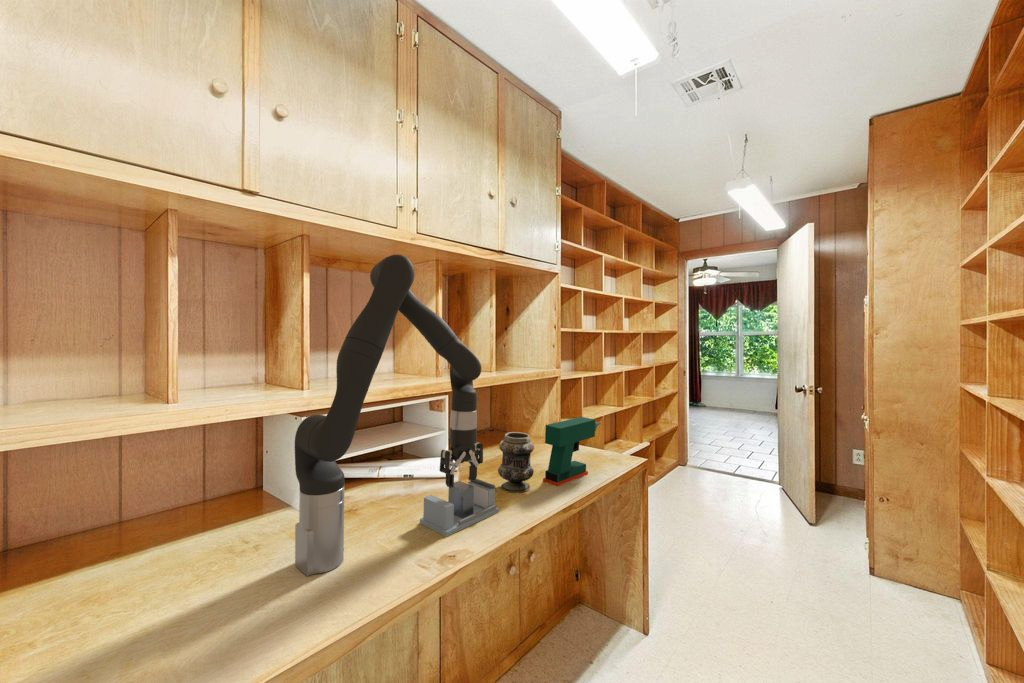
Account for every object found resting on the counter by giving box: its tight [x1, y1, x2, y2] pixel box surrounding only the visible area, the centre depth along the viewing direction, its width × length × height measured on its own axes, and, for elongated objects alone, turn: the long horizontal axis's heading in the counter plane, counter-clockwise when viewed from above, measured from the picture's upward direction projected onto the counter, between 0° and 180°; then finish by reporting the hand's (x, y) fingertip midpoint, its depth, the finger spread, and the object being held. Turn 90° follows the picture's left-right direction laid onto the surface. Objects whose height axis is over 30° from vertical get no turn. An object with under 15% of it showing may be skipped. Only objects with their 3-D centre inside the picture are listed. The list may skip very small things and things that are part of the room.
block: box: [447, 480, 474, 519], centre depth 120 cm, size 4×6×8 cm, turn 51°
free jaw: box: [467, 477, 496, 509], centre depth 127 cm, size 3×10×7 cm, turn 50°
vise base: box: [419, 494, 500, 537], centre depth 120 cm, size 20×11×7 cm, turn 140°
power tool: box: [542, 416, 602, 487], centre depth 159 cm, size 32×7×20 cm, turn 136°
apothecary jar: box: [497, 431, 535, 494], centre depth 144 cm, size 12×12×18 cm
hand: (461, 483), depth 120 cm, fingers open, 8 cm apart
